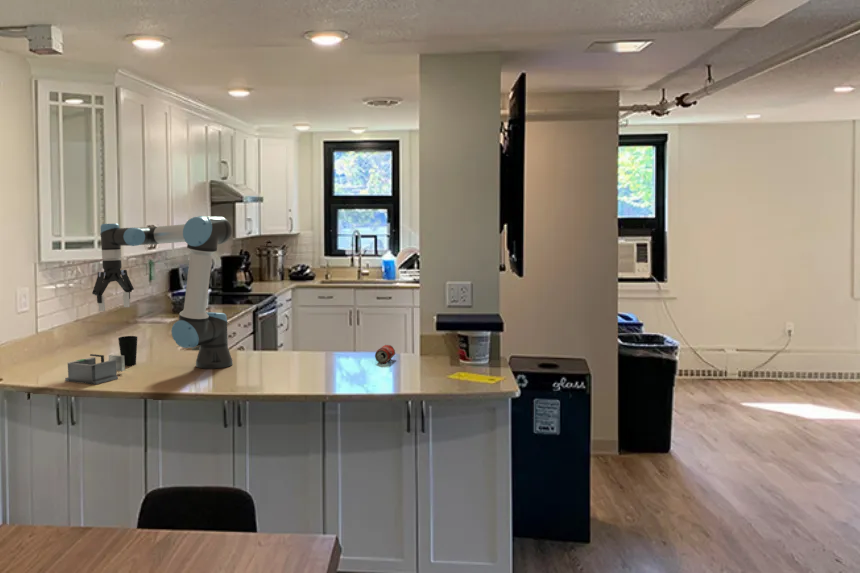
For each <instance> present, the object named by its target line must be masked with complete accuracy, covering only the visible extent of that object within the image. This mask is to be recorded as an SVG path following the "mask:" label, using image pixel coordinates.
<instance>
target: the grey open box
mask: <svg viewBox="0 0 860 573" xmlns="http://www.w3.org/2000/svg"><path fill="white" fill-rule="evenodd" d="M96 359H97V358H96V356H90V357H86V358H81V359H76V360H73V361H68V362H67V375H68V376H67V377H65V379H64V380H65V382H69V383H71V382H72V383H81V384H85V385H86V384H88V385H95V386H96V385H99V384H104V383H106V382H112V381H115V380H118V379H119V376H118V374H117V370H116V360H110V361H109V360H107V361H104V362H101V361H100V362H97V361H96Z"/></svg>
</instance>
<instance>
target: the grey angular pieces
mask: <svg viewBox="0 0 860 573" xmlns="http://www.w3.org/2000/svg"><path fill="white" fill-rule="evenodd" d="M89 356H90V357H98V358H99V357H100V363H101V362H105V355H104V354H103V355H102V354H93V353H92V354H91V353H90V354H89ZM107 357H108V361H110V360H116V372H117V371H118V372H123V371H126V366H125V360H124V356H121V354H108V356H107Z"/></svg>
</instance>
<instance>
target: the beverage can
mask: <svg viewBox="0 0 860 573" xmlns="http://www.w3.org/2000/svg"><path fill="white" fill-rule="evenodd" d="M395 355H396V350H395V349H394V347H393V345H391V344H385V345H382V346H381V347H380V348H378V349H377V350H376V352H375V354H374V358H375V360H376V361H377V363H379V364H386V363H388V362H389V361H390V360H391V359H393V357H394V356H395Z"/></svg>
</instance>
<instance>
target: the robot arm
mask: <svg viewBox="0 0 860 573" xmlns="http://www.w3.org/2000/svg"><path fill="white" fill-rule="evenodd" d="M99 232H100V233H99V234H100V235H99V236H100V244H101V259H102V262H101V264H102V269H103V271H97V275H96V276H97V277H96V281H95V284H94V286H93V290H92V295H94V296H96V300H97V301H96V303H97V304H98V305H97V306H98V312H105V311H106V305H105V304H106V303H105V295H103V294H104V293H105V291H106V289H107V287H108V285H109V284H110V283H112V282H116V283H117V284H118V285H119V286H120V287H121V288H122V290H123V291H124V292H122V295H123V296H122V297H123V298H122V299H123V308H130V307H131V304H130V303H131V302H130V300H131V293H132V291H133V290H134V286H133V283H132V282H131V279H130V277H129V276H128V271H127V269H122V267H123V266H122V260H121V259H122V252H121V251H122V250H121V247H122V246H126V247H127V246H131V247H137V246H144V245H145V246H146V245H150V246H151V245H159V244H176V243H186V245H187V246H186V248H187V250H188V251H189V264H188V269H187V270H188V271H187V279H186V290H185V297H184V303H183V304H184V306H183V310H181V311H180V312H179V314H178V320H177V321H175V322H174V323H173V324H172V327H171V336H172V339H173V341H174V342H175V343H176V345H178V346H179V347H181V348H185V349H188V348H189V349H190V348H195V347H198V346H199V349H198V350H199V351H198V353H197V356H196V360H195V367H196V368H198V369H203V370H204V369H205V370H207V369H210V370H211V369H223V368H228V367H231V366H233V358H232V355H231V353H230V349H229V345H228V344H229V341H228V339H229V338H228V318H227V317H228V316H227V314H226V313H224V312H208V311H207V302H208V296H209V295H208V293H209V287H210V278H211V271H212V270H211V269H212V262H213V255H214V254H215V253H217V252H218V246H219V245H222V244H225V243H227V242H228V241H229V240H230V238H231V237H232V235H233V226H232V224H231V222H230V221H229V220H228V219H227V218H225V217H224V216H219V215H217V216H216V215H213V216H212V215H207V216H206V215H198V216H193V217H191V218H190V219H188V220H187V221H186V222H185V224H174V225H171V224H170V225H163V226H148V227H145V226H144V227H122V228H121V227H120V224H119V223H102V224H101V225H100V231H99Z"/></svg>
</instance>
